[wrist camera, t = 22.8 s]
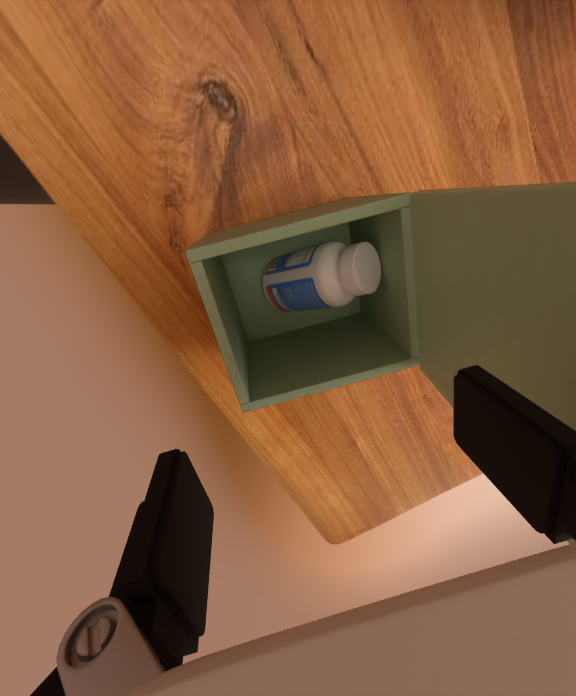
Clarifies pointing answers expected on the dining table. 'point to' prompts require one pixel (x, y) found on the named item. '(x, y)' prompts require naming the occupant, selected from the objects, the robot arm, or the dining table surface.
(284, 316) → the box
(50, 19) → the dining table surface
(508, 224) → the lid
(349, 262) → the pill bottle
